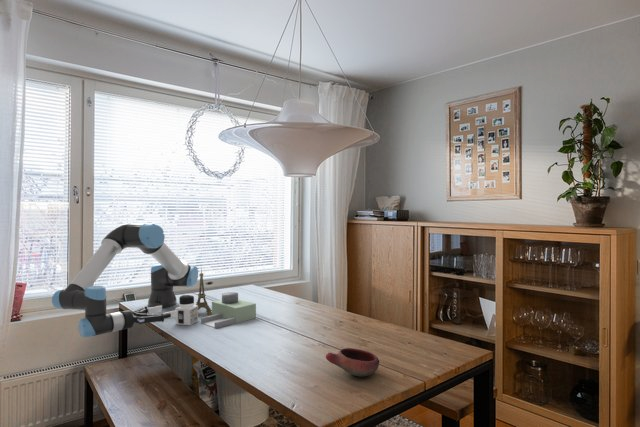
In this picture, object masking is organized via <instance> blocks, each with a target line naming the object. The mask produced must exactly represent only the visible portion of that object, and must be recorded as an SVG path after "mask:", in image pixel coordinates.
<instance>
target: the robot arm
mask: <svg viewBox="0 0 640 427" xmlns="http://www.w3.org/2000/svg"><path fill="white" fill-rule="evenodd" d="M165 237H166V236H165V233H164V229H163V228H162V227H161V225H159V224H157V223H153V222H145V223H143V222H139V223H138V222H137V223H133V222H132V223H131V222H128V223H127V222H126V223H124V224H123V223H122V224H120V225H118V226H117V227H115V228H114V229H112V230H111V231H109V233H108V234H107V235H105V236H104V238H103V239H102V240H101V242H100V243H101V245H100V246H99V247H98V249H97V250H96V251H95V252H94V254H93V255H92V256H91V257H90V258H89V260H88V261H87V262H86V264H85V265H84V266H83V267H82V268H81V270H79V272H78V273H77V274H76V275H75V277H74V278H73V279H72V280H71V282H69V284H68V285H67V286H66V287H65V289H59V290H57V291H55V292H54V293H53V294H52V297H51V303H52V304H51V305H53V307H55V308H57V309H60V310H61V309H62V310H78V311H80V310H81V311H82V310H83V311H84V314H85V315H84V317H83V318H81V319H79V321H78V328H77V329H78V332H79V335H80V337H82V338H89V337H90V338H91V337H96V336H101V335H105V334H107V333H116V332H117V331H122V330H128V329H131V328H133V327H134V323H136V324H139V325H143V324H149V323H157V322H158V323H159V322H162V323H164V321H165V320H168V319H172V318H175V317H177V310H175V309H174V310H171V311H167V312H163V308H166V307H172V306H175V305H176V304H177V303H178V302H177V297H176V294H175V291H174V287H182V288H193V287H194V286H196V284H197V282H198V278H199V270H198V266H196V265H190V264H189V263H188V262H187V261H186V260H183V259H180V258H179V257H178V256H177V255H176V254H175V253H174V251H172V249H171V248H170V247H169V246H168V245H167V243H165ZM127 248H131V249H133V248H137V249H139V250H140V251H141V252H143V253H144V254H146V255H150V256H151V257H152V258H153V259H155V261H156V262H157V263H158V264H157V263H156V264H153V265H152V266H151V267H150V295H149V297H148V301H147V306H144V307H141V308H138V309H135V310H132V311H131V310H130V309H128V310H127V309H126V310H122V311H116V312H111V313H107V290H106V287H105V286H103V285H94V284H95V283H96V281H97V280H98V279H99V278H100V276H101V275H102V274H103V272H104V271H105V270H106V268H107V267H108V266H109V264H111V261H112V260H113V259H114V258H115V256H117V255H119V254H121V253H122V251H123V250H125V249H127Z"/></svg>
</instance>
